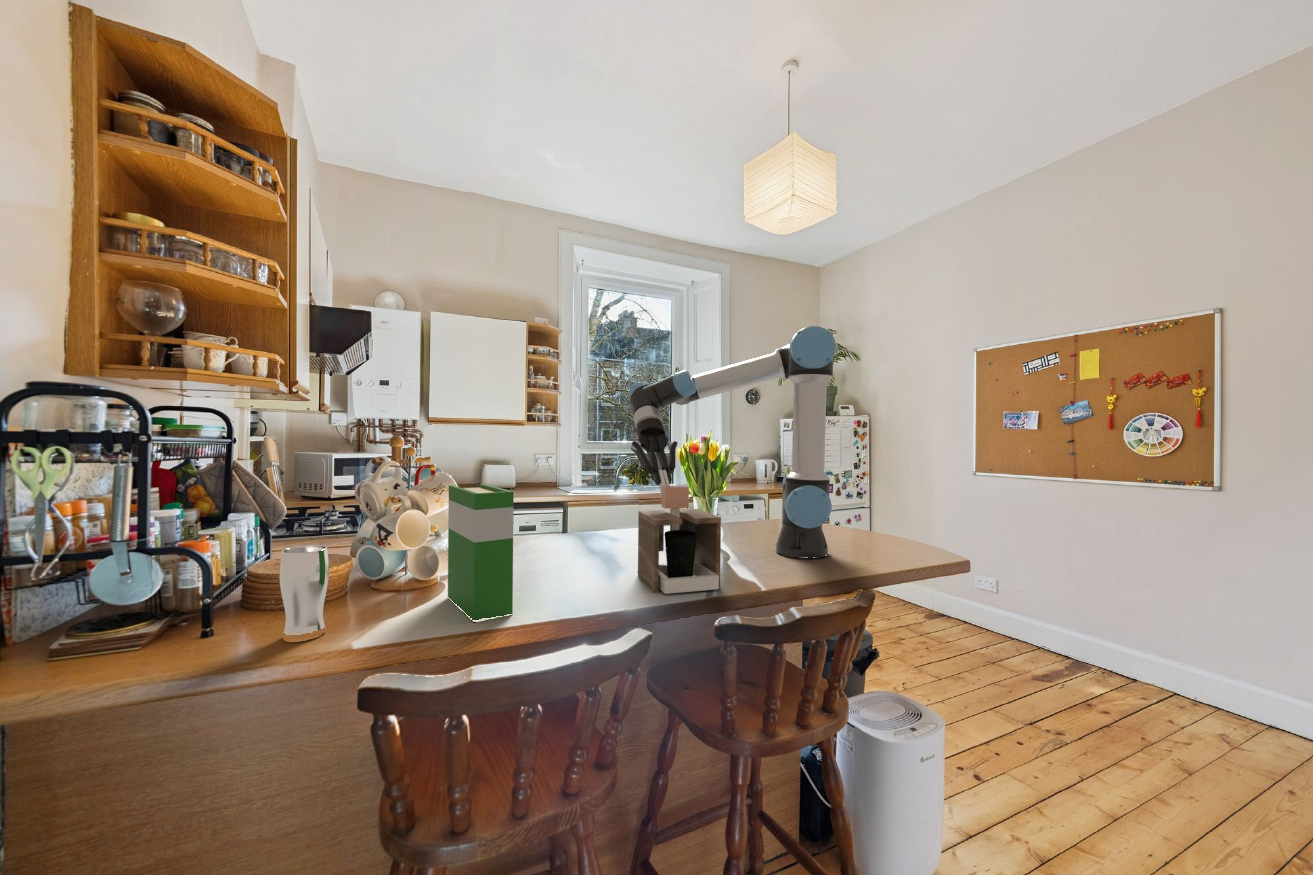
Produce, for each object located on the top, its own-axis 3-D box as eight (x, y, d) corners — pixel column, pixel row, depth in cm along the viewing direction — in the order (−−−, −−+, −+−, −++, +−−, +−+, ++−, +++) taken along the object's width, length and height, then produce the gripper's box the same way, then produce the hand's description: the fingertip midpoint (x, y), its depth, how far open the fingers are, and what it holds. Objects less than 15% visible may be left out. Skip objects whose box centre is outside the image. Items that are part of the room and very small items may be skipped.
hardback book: (447, 598, 108) (448, 485, 108) (482, 592, 113) (483, 483, 113) (473, 623, 94) (474, 493, 94) (512, 615, 99) (513, 491, 99)
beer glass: (276, 635, 88) (276, 548, 88) (323, 625, 93) (323, 542, 92) (283, 647, 83) (283, 555, 83) (332, 636, 88) (333, 549, 87)
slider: (696, 573, 128) (697, 485, 128) (718, 589, 115) (719, 491, 115) (647, 576, 124) (648, 486, 124) (664, 593, 111) (666, 493, 111)
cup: (696, 588, 117) (697, 536, 117) (663, 588, 117) (664, 536, 117) (695, 579, 124) (696, 530, 124) (664, 578, 125) (664, 529, 125)
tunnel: (697, 571, 132) (698, 508, 132) (720, 587, 118) (720, 517, 118) (637, 575, 127) (638, 510, 127) (654, 592, 114) (654, 520, 113)
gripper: (668, 435, 147) (687, 501, 131) (623, 435, 143) (637, 503, 128) (675, 416, 142) (695, 483, 126) (628, 416, 138) (643, 484, 122)
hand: (666, 493), depth 127 cm, fingers closed
